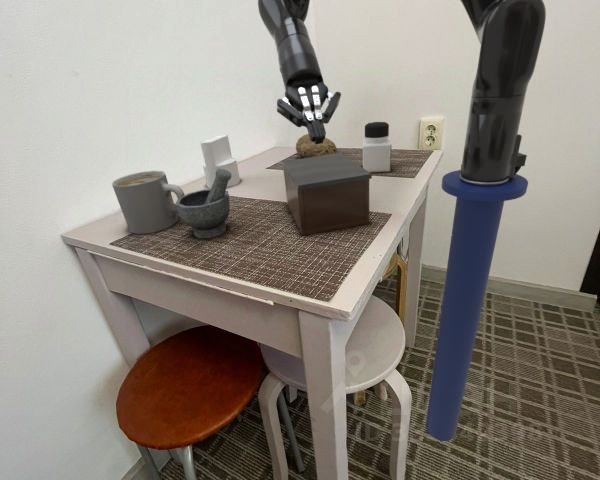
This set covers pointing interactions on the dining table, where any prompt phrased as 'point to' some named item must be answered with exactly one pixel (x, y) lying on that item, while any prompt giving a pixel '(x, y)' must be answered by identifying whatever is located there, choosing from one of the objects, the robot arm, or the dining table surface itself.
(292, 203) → the open box
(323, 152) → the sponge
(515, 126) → the robot arm
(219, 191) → the mortar and pestle
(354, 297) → the dining table surface
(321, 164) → the dark grey box lid
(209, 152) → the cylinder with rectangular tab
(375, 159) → the medicine bottle
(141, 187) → the coffee mug
